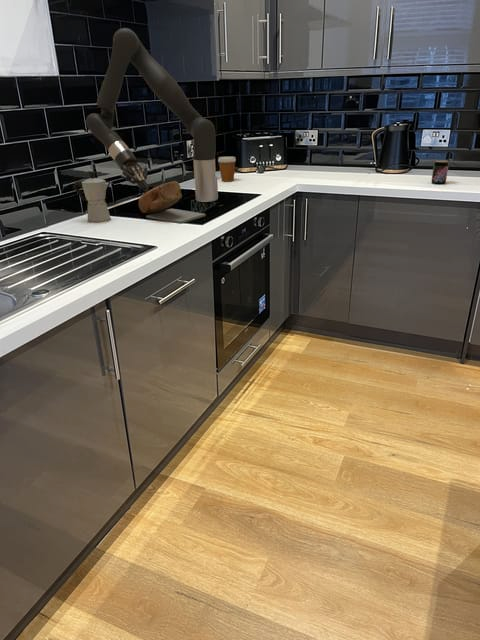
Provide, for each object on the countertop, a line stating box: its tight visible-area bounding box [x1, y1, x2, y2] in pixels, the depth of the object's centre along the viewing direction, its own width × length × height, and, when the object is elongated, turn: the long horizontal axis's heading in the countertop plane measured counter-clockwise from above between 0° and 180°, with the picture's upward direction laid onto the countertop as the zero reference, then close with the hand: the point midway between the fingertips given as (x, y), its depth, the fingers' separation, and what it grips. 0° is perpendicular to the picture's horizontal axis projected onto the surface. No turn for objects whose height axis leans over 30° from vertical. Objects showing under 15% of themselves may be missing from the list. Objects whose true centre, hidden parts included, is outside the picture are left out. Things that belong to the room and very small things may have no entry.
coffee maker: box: [73, 170, 112, 224], centre depth 180 cm, size 15×9×18 cm, turn 74°
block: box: [137, 180, 183, 214], centre depth 183 cm, size 11×8×20 cm
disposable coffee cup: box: [217, 156, 237, 183], centre depth 255 cm, size 10×10×12 cm
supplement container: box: [430, 159, 450, 186], centre depth 234 cm, size 7×7×10 cm
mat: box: [145, 208, 207, 225], centre depth 186 cm, size 14×18×1 cm
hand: (146, 189), depth 190 cm, fingers closed
